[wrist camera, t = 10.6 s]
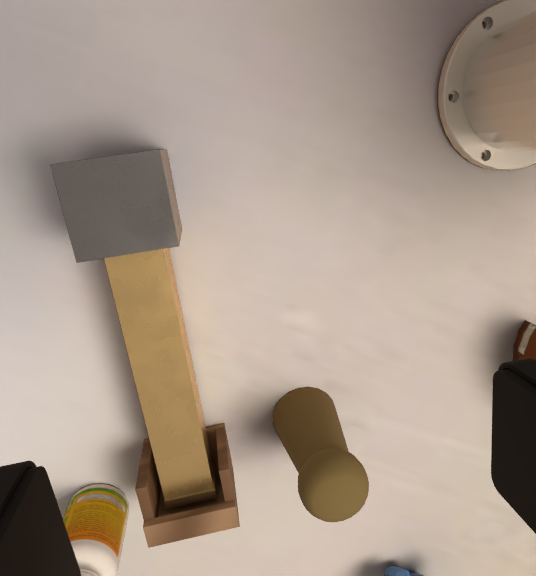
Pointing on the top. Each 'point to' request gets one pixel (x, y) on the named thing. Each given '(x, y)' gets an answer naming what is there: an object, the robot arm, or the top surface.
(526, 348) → the food container
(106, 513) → the supplement bottle
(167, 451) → the long gold plank
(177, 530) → the walnut socket
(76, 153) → the top surface
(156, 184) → the steel sleeve
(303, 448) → the cork
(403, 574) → the grapes
